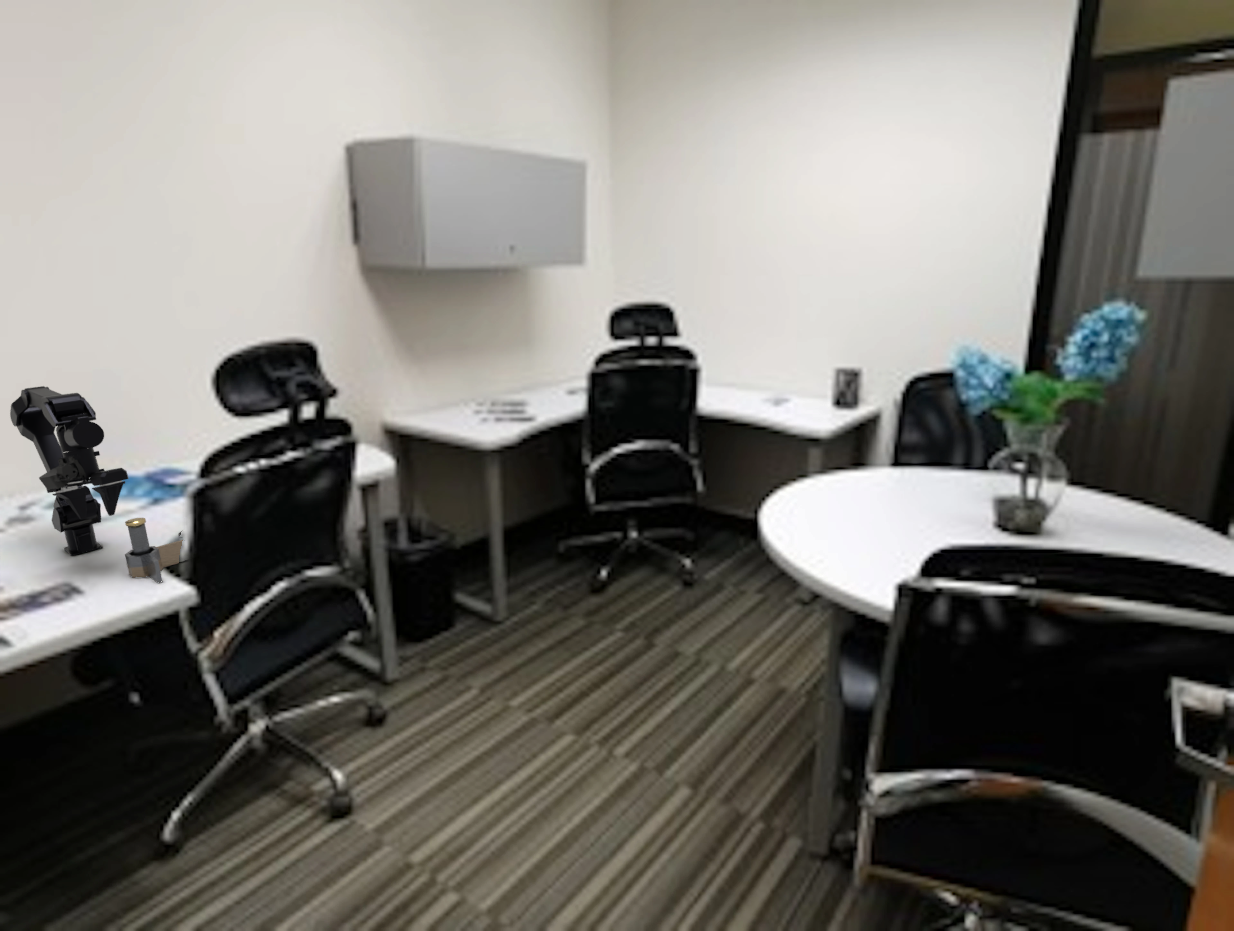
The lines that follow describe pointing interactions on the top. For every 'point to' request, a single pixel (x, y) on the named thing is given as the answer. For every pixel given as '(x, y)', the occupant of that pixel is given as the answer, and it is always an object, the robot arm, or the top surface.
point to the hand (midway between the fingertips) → (97, 517)
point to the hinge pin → (138, 536)
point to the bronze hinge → (153, 560)
